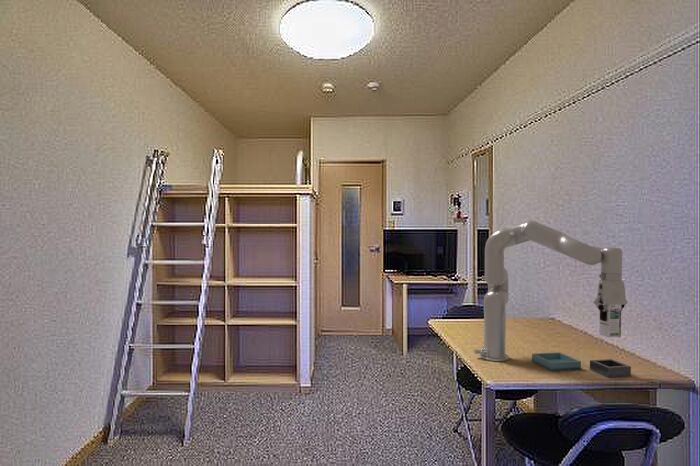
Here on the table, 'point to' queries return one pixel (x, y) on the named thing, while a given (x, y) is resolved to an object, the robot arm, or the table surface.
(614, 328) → the syrup box
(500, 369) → the table surface
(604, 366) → the holder
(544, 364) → the tray
